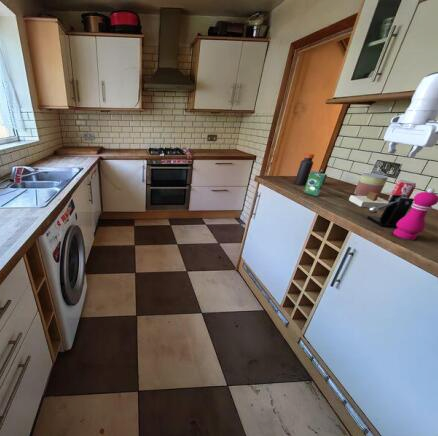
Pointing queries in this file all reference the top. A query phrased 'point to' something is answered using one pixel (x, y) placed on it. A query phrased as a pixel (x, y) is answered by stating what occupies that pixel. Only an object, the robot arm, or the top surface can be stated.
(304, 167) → the bottle
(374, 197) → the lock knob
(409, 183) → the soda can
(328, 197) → the top surface
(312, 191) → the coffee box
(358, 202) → the plate
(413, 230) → the pepper mill
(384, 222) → the latch bracket
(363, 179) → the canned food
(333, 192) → the top surface
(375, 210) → the metal spoon
